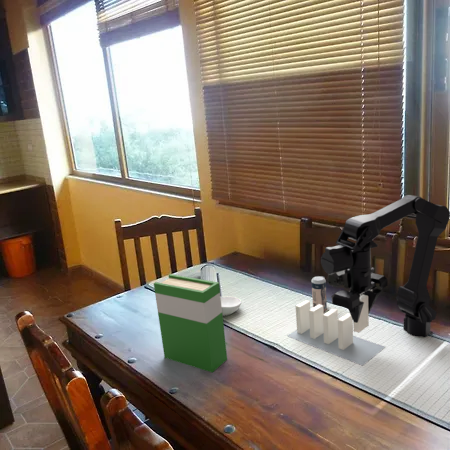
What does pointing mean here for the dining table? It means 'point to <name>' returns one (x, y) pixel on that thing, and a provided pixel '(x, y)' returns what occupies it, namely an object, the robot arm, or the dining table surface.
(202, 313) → the hardback book
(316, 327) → the domino
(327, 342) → the domino
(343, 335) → the domino
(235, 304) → the spoon rest
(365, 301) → the domino
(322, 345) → the domino board
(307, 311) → the domino
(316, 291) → the spice jar
